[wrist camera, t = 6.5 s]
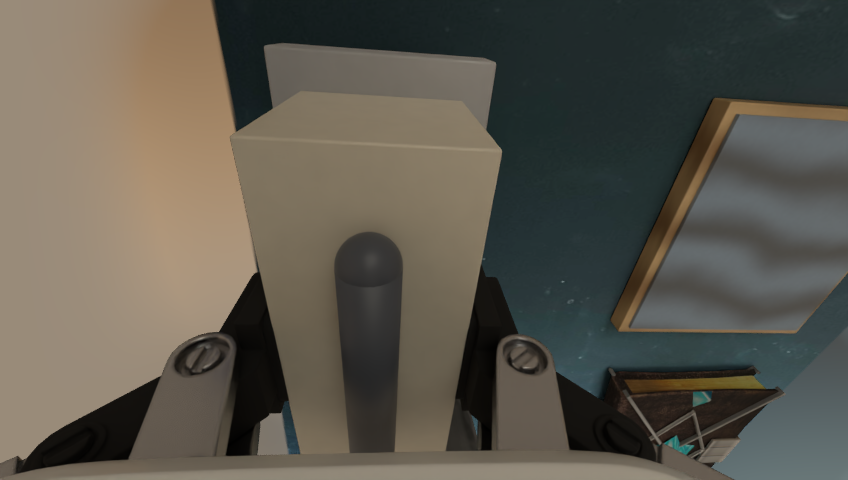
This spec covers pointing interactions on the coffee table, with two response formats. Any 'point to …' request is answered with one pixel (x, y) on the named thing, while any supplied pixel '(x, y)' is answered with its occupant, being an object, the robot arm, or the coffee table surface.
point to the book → (691, 407)
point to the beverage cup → (461, 431)
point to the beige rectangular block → (370, 236)
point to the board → (747, 224)
